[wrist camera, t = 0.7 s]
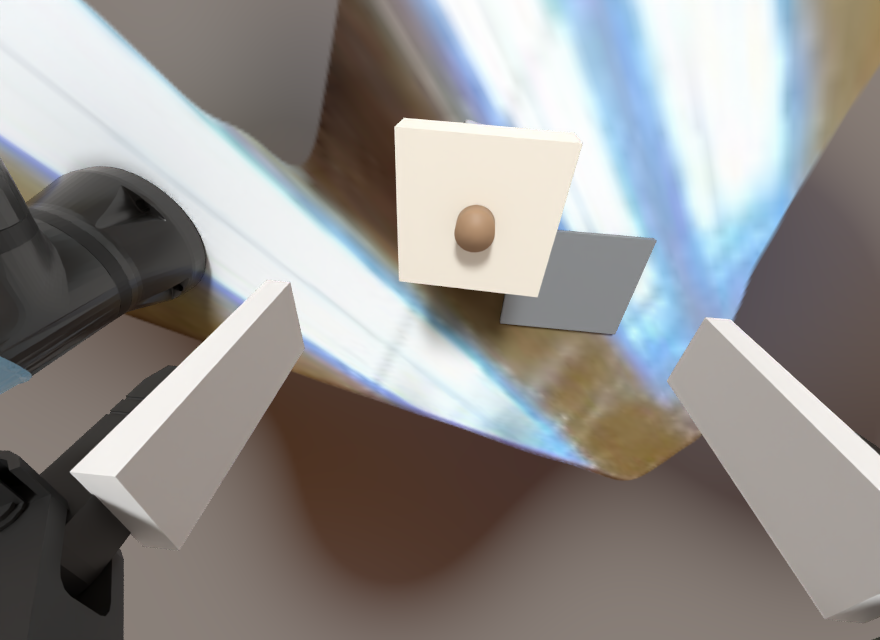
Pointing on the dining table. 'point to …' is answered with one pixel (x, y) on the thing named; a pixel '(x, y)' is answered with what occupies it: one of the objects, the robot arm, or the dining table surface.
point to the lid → (480, 203)
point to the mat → (583, 283)
